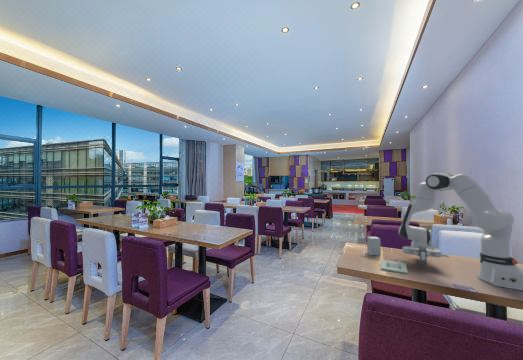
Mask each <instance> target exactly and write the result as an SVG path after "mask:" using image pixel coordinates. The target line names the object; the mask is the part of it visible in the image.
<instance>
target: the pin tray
mask: <svg viewBox="0 0 523 360" xmlns="http://www.w3.org/2000/svg"><path fill="white" fill-rule="evenodd" d="M380 270H381V271H386V272H391V273H399V274H404V275H408V274H409V273H408V272H409V271H408V268H407V264H406V262H401V261H399V260H398V261H393V260H389V259H386V260H385V259H381V264H380Z"/></svg>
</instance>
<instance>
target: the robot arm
mask: <svg viewBox="0 0 523 360" xmlns="http://www.w3.org/2000/svg"><path fill="white" fill-rule="evenodd" d="M449 190H453V191H454V192H455V193H456V195H457V196H458V197H459V198H460V199H461V201H462V202H463V203H464V204H465V205H466V206H467V208H468V210H469V211H470V213H471V216H472V217H473V222H474V224H475V226H477V228H479V229H481V230H483V233H482V235H481V237H480V252H479V263H480V267H479V272H478V275H477V277H478V279H479V280H481V281H484V282H487V283H489V284H491V285H493V286H496V287H501V288H507V289H513V290H519V291H523V269H522V268H520V266H517V265H518V261H517V260H516V259H515V258H514V257H511V252H510V250H511V249H510V248H511V247H510V243H511V237H512V231H513V226H514V222H515V218H514V216H513V215H512V214H511V213H510V212H508V211H506V210H505V209H504V210H503V209H499V208H496V207H495V206H494V204H493V202H492V199H490V198H491V197H490V196H489V195H488V194H487V192H486V191H485V190H484V189H483V188H482V187H481V186H480V185H479V183H477V182H476V181H475V180H474V179H472V178H471V177H470V176H469V175H467V174H466V173H458V174H455V175H452V174H449V173H443V172H442V173H441V172H439V173H437V172H435V173H430V174H429V175H428V176H427V177H426V179H425V181H423V182H421V183H419V184H418V187H417V190H416V193H415V198H414V200H413V201H412V202H411V203H410V204H408V205H407V208H406V211H405V213H404V216H403V219H402V222H401V224H400V226H399V228H398V235H399V237H401V238H402V239H405V240H412V241H411V243H410V245H409V246H408V245H404V246H403V247H401V248H402V251H403V254H406V255H415V256H417V257H419V256H420V255H419V254H420V253H419V247H425V248H426V257H427V258H429V257H430V258H442V251H441V250H440V249H439V248H437V246H435V245H431V244H430V243H431V240H432V239H431V232H430V231H429V229H428V228H426V227H425V228H424V227H420V226H414V225H409V224H410V221H411V219H412V216H413V215H414V214H417V213H420V212H426V211H429V210H432V209H433V208H434V206H435V203H436V197H437V193H438V192H439V191H440V192H442V191H449Z"/></svg>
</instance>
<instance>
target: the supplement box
mask: <svg viewBox="0 0 523 360" xmlns="http://www.w3.org/2000/svg"><path fill="white" fill-rule="evenodd" d="M366 242H367V243H366V246H367V247H366V248H367V250H366V251H367V254H369V255H370V256H381V255H382V251H381V248H382V247H381V238H380V237H378V236H366Z"/></svg>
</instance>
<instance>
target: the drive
mask: <svg viewBox="0 0 523 360" xmlns="http://www.w3.org/2000/svg"><path fill="white" fill-rule="evenodd" d="M419 253H420V254H419V255H420V256H418V261H419V264H420V265H427V264H428V260H427V258H428V257H426V248H425V247H419Z"/></svg>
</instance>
